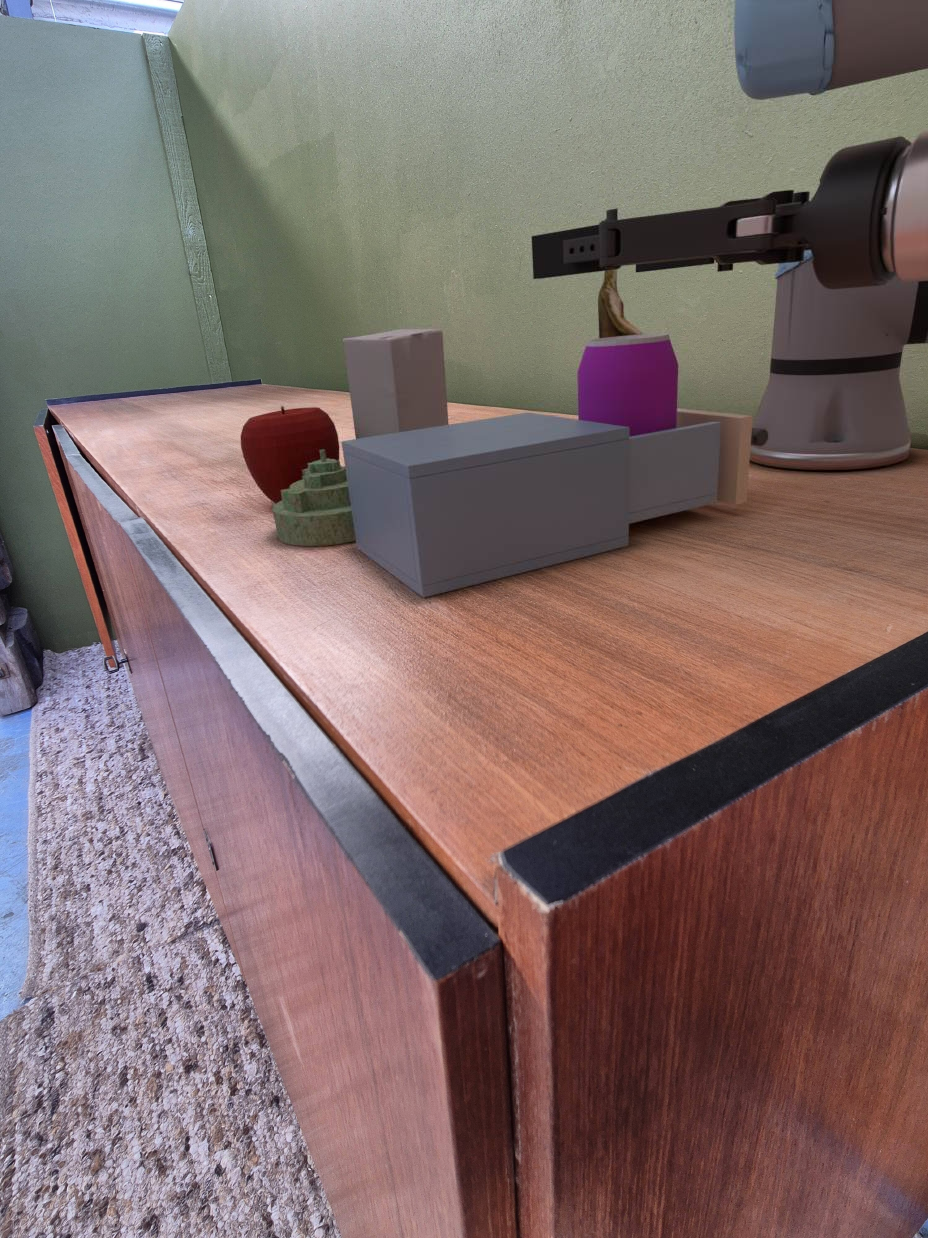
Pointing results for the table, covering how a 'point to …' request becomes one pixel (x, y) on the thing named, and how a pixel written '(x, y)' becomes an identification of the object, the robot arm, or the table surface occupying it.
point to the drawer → (691, 463)
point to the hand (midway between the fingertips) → (590, 255)
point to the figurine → (612, 310)
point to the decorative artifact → (316, 507)
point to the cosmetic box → (396, 381)
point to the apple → (286, 446)
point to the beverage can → (629, 383)
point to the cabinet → (488, 497)
